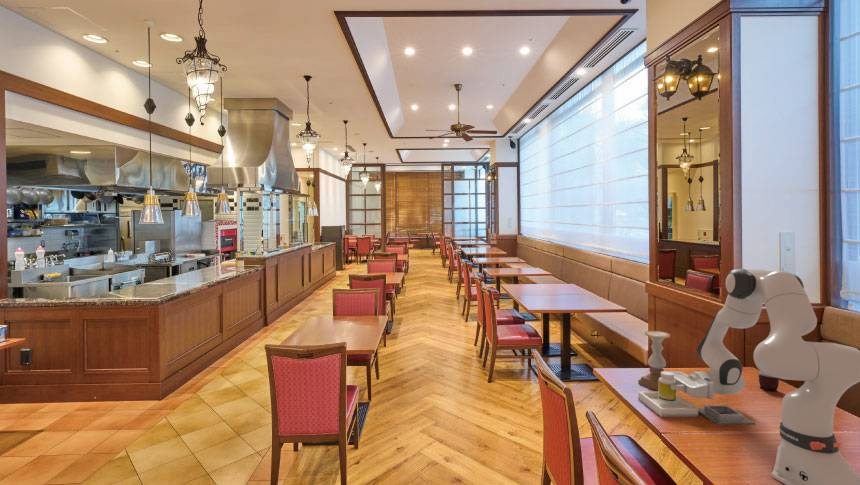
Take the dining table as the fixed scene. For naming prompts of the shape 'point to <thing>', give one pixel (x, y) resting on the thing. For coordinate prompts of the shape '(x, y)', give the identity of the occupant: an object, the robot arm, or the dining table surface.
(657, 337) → the candle holder
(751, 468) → the dining table surface
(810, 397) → the robot arm
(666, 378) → the pill bottle
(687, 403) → the tray
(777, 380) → the mate gourd
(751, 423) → the steel collar
